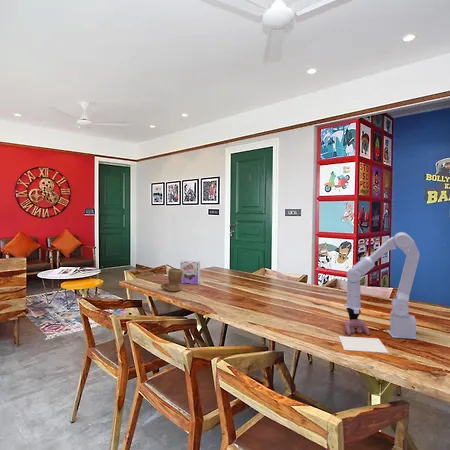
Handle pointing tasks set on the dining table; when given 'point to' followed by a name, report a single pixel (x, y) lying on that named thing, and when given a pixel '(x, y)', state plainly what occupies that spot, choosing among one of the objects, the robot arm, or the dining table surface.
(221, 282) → the dining table surface
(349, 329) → the video game controller
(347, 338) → the mat
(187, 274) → the candy box
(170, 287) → the brown hat
